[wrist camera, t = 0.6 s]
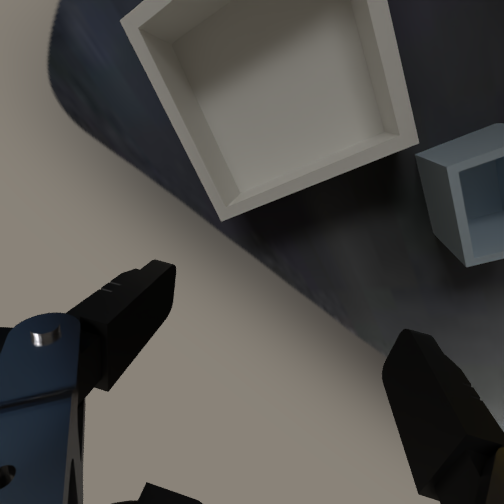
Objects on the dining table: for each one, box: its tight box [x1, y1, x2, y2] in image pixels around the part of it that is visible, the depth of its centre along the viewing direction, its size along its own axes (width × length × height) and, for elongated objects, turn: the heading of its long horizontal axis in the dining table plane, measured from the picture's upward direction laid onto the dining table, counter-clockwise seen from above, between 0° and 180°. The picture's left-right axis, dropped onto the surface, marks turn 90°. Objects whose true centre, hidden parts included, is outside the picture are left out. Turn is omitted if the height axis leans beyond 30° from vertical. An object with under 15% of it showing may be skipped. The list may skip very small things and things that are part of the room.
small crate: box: [415, 123, 504, 267], centre depth 22 cm, size 6×8×7 cm
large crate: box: [120, 0, 419, 221], centre depth 22 cm, size 16×16×6 cm
